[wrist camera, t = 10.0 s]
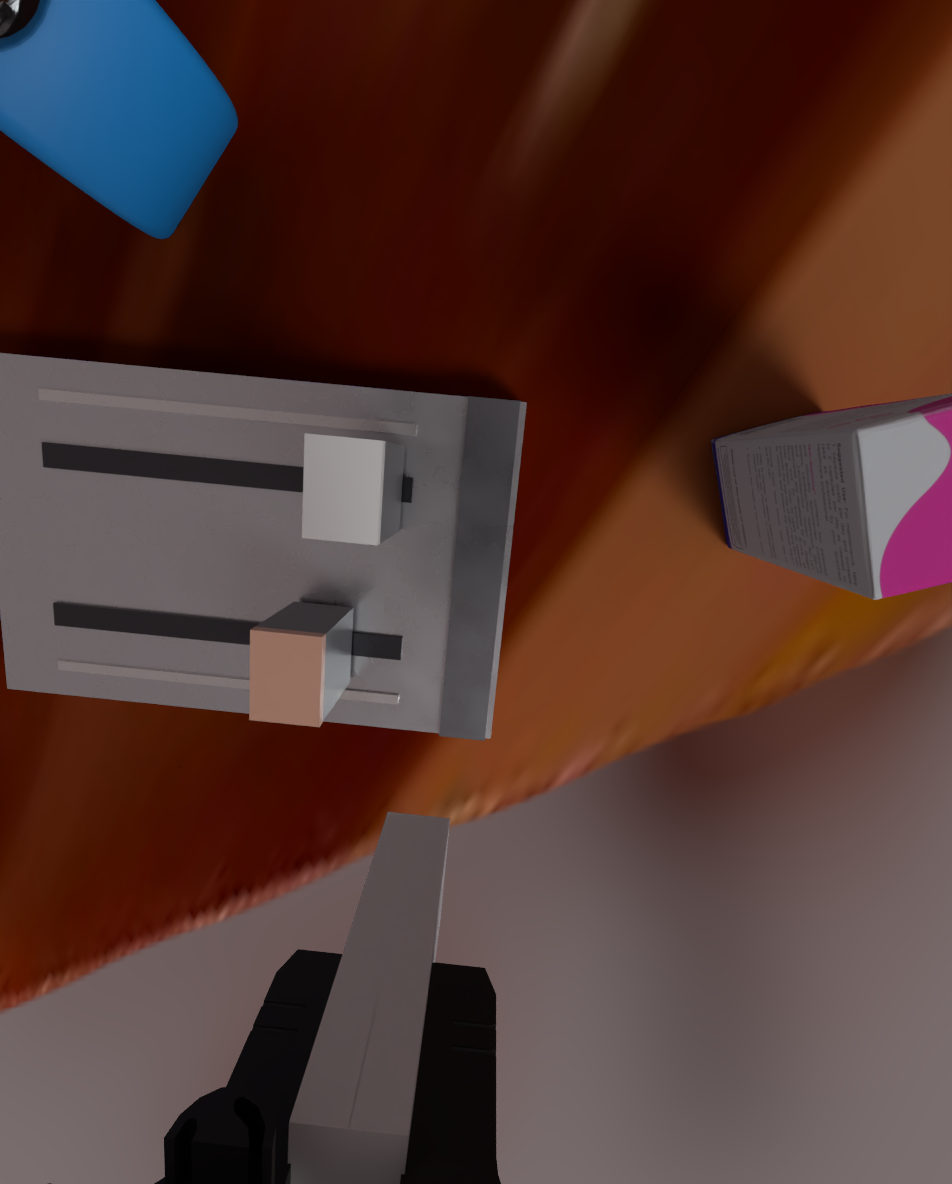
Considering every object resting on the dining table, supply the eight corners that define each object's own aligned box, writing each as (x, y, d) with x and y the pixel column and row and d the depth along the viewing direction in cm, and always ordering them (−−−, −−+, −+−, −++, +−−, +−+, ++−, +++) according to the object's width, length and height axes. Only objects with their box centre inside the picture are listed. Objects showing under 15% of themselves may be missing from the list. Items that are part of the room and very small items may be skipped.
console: (11, 358, 28) (-31, 349, 26) (524, 407, 28) (527, 401, 26) (37, 675, 32) (2, 690, 30) (490, 721, 32) (490, 741, 29)
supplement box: (726, 553, 29) (870, 605, 18) (708, 438, 28) (849, 417, 17) (841, 526, 29) (1062, 562, 17) (827, 408, 27) (1055, 366, 16)
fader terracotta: (294, 601, 28) (250, 629, 23) (353, 607, 28) (322, 637, 23) (292, 676, 29) (249, 719, 24) (349, 682, 29) (319, 727, 24)
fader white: (341, 440, 26) (304, 433, 21) (404, 446, 26) (382, 440, 21) (337, 525, 27) (301, 538, 22) (399, 531, 27) (377, 545, 22)
